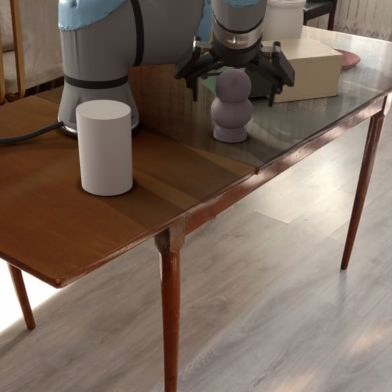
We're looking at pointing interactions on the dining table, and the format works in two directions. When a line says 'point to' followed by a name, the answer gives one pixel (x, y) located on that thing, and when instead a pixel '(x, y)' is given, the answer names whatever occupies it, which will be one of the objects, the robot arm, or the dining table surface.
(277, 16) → the jar
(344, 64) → the plate
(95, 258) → the dining table surface
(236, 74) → the cat figurine
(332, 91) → the cabinet
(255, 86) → the drawer
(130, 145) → the white cylinder
